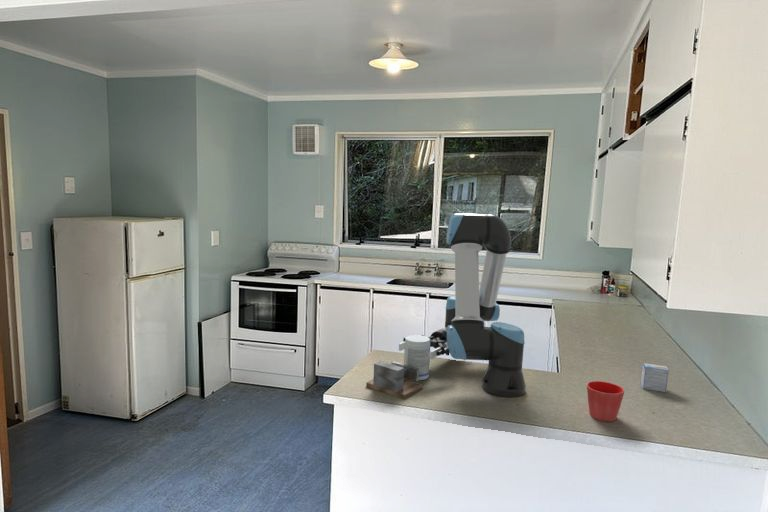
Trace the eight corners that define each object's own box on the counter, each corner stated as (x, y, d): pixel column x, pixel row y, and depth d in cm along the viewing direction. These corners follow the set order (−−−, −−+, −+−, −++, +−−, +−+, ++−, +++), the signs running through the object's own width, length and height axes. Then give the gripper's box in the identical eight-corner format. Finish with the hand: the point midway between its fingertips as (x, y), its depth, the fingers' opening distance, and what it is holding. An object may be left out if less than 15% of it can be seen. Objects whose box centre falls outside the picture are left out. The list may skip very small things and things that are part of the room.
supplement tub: (433, 378, 179) (436, 340, 177) (413, 383, 173) (415, 343, 172) (418, 370, 187) (419, 333, 185) (398, 374, 181) (399, 336, 180)
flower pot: (577, 408, 157) (580, 380, 156) (609, 408, 158) (612, 380, 157) (594, 424, 147) (597, 393, 146) (628, 424, 148) (631, 393, 147)
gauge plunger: (418, 380, 171) (419, 368, 170) (409, 385, 166) (410, 372, 165) (392, 372, 177) (392, 360, 177) (382, 377, 172) (383, 365, 172)
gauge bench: (422, 388, 168) (423, 364, 167) (404, 399, 159) (405, 373, 158) (385, 377, 178) (386, 353, 177) (366, 386, 168) (367, 361, 167)
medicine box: (663, 388, 179) (666, 366, 178) (666, 392, 174) (669, 369, 173) (640, 384, 181) (642, 362, 180) (642, 389, 177) (644, 366, 176)
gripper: (469, 354, 188) (444, 368, 171) (415, 341, 203) (386, 353, 185) (471, 335, 188) (445, 348, 170) (416, 324, 202) (387, 334, 184)
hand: (414, 351), depth 178 cm, fingers open, 13 cm apart
